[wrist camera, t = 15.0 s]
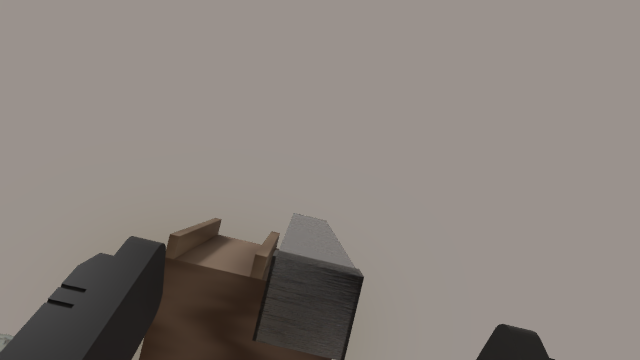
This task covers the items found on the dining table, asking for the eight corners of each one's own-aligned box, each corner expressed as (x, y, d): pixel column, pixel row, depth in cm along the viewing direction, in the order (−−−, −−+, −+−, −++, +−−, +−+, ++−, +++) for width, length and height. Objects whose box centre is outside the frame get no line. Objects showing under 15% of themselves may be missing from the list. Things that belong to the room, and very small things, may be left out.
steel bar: (251, 340, 17) (272, 255, 17) (284, 245, 45) (292, 212, 45) (343, 361, 17) (363, 277, 17) (319, 253, 45) (327, 221, 45)
